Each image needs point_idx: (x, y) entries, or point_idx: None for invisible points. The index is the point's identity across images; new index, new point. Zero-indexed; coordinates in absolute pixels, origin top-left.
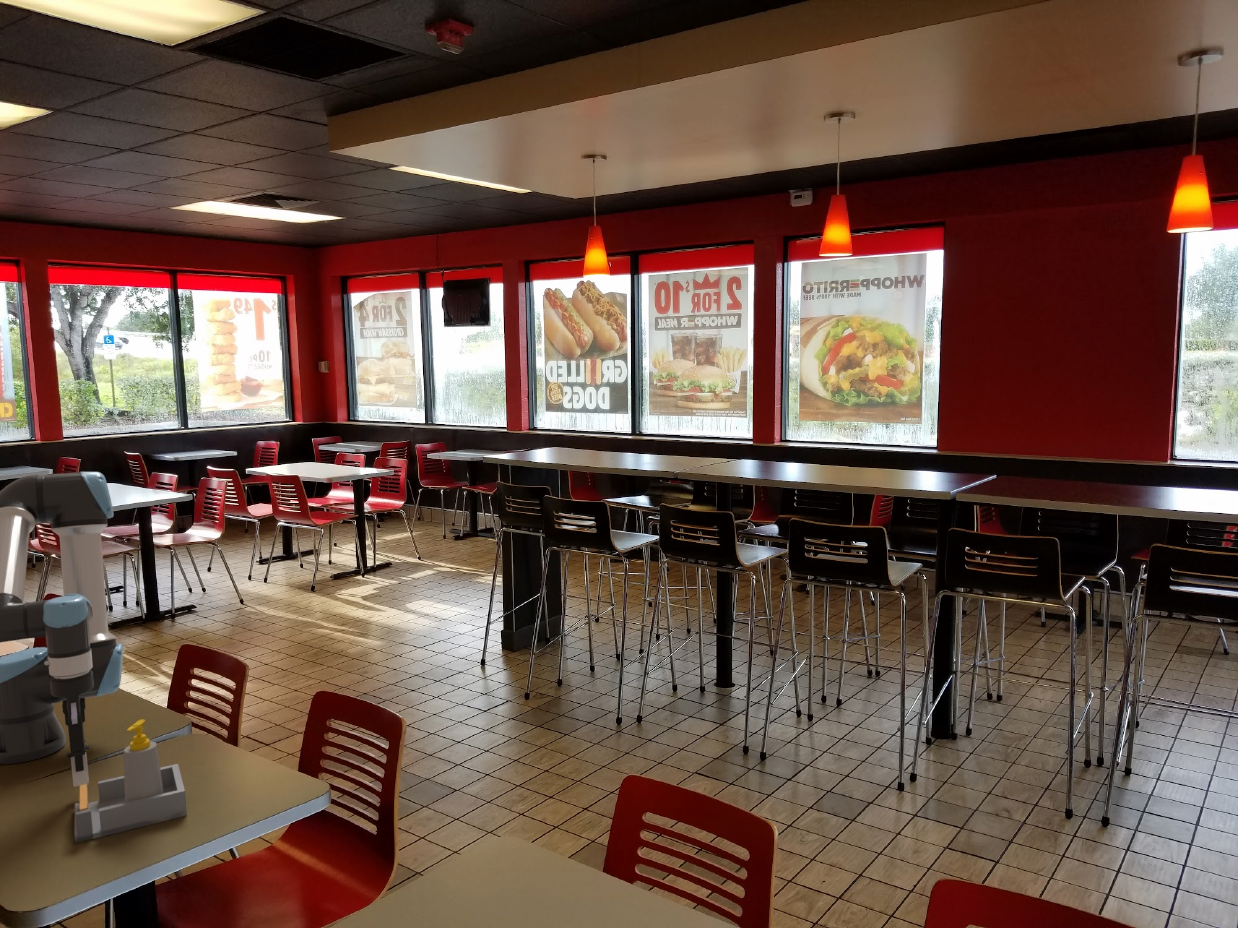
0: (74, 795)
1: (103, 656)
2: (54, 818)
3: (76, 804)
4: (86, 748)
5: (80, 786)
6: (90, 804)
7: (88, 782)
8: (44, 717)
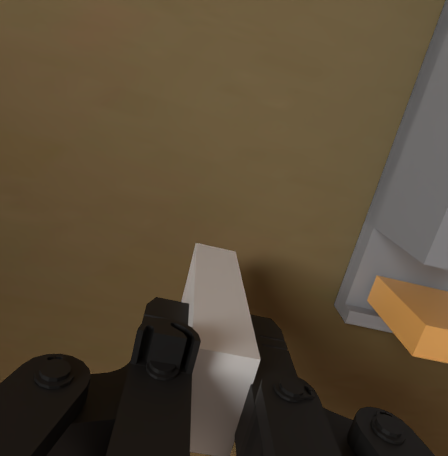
0: (157, 272)
1: None
2: (333, 372)
3: (363, 320)
4: (196, 356)
5: (428, 355)
6: (381, 266)
7: (235, 254)
8: None
